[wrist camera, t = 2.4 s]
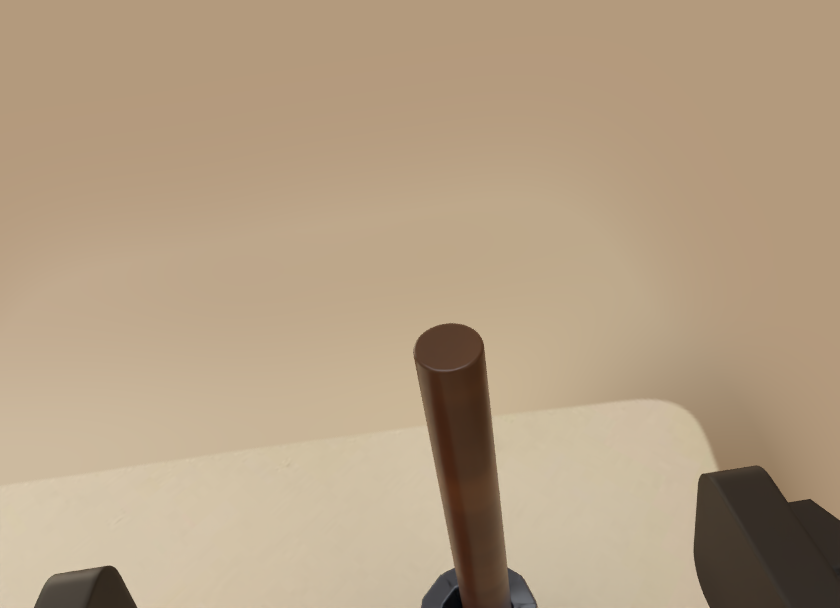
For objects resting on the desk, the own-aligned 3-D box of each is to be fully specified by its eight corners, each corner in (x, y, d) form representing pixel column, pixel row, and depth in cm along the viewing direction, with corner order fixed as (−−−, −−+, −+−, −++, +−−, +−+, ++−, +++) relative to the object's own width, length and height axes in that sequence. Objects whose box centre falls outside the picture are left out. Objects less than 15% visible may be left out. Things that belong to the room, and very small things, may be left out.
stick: (528, 687, 29) (497, 336, 17) (506, 724, 28) (456, 381, 16) (493, 664, 30) (440, 313, 18) (471, 699, 29) (398, 355, 17)
